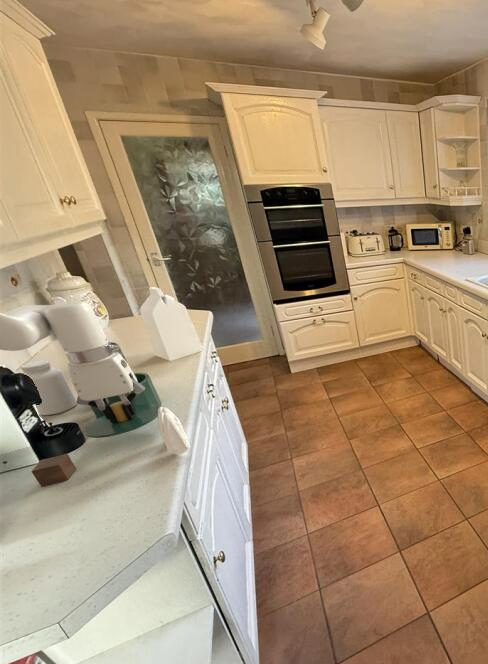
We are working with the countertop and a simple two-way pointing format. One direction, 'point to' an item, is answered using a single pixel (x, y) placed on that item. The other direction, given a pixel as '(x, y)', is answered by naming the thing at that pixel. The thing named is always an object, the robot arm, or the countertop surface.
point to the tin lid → (122, 421)
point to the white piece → (172, 432)
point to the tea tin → (143, 398)
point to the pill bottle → (50, 387)
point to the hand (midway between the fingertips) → (123, 418)
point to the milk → (169, 326)
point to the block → (54, 470)
